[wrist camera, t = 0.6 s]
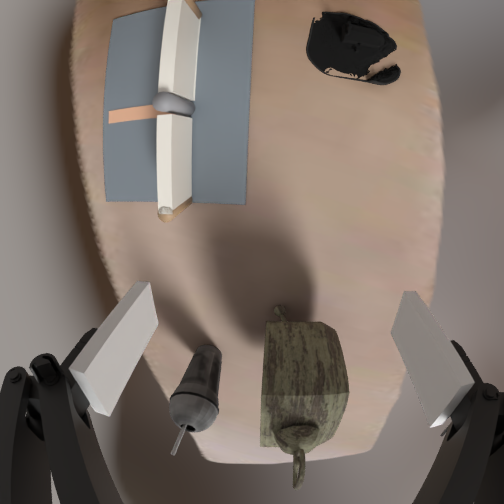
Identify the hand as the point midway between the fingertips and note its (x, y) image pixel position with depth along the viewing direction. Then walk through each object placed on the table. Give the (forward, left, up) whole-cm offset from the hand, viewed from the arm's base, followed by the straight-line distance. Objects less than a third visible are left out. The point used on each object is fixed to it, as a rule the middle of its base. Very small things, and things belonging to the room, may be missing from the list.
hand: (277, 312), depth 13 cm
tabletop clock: (+20, +5, -23) cm, 31 cm away
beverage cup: (+26, -9, -23) cm, 36 cm away
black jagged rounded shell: (-22, +9, -23) cm, 33 cm away
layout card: (-14, -14, -23) cm, 30 cm away
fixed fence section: (-19, -11, -23) cm, 31 cm away
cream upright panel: (-5, -11, -22) cm, 25 cm away
